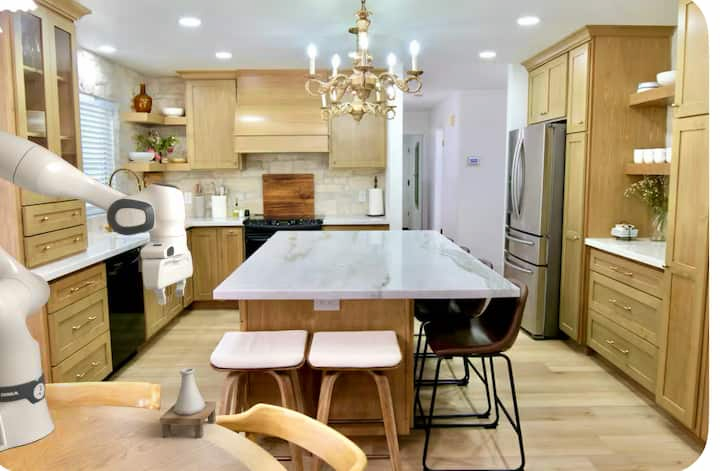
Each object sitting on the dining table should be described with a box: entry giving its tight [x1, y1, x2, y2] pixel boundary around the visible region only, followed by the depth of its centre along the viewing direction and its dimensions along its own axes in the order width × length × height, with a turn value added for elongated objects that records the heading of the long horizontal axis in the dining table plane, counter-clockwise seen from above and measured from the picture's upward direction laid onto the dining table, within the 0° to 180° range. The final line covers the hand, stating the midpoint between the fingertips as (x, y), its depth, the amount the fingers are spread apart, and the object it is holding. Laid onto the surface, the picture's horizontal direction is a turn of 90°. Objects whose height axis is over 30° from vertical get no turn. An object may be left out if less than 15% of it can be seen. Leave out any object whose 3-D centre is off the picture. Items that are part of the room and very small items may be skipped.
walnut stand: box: [159, 400, 217, 439], centre depth 135 cm, size 10×10×5 cm
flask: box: [173, 367, 206, 415], centre depth 134 cm, size 7×7×10 cm
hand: (171, 300), depth 141 cm, fingers open, 8 cm apart
